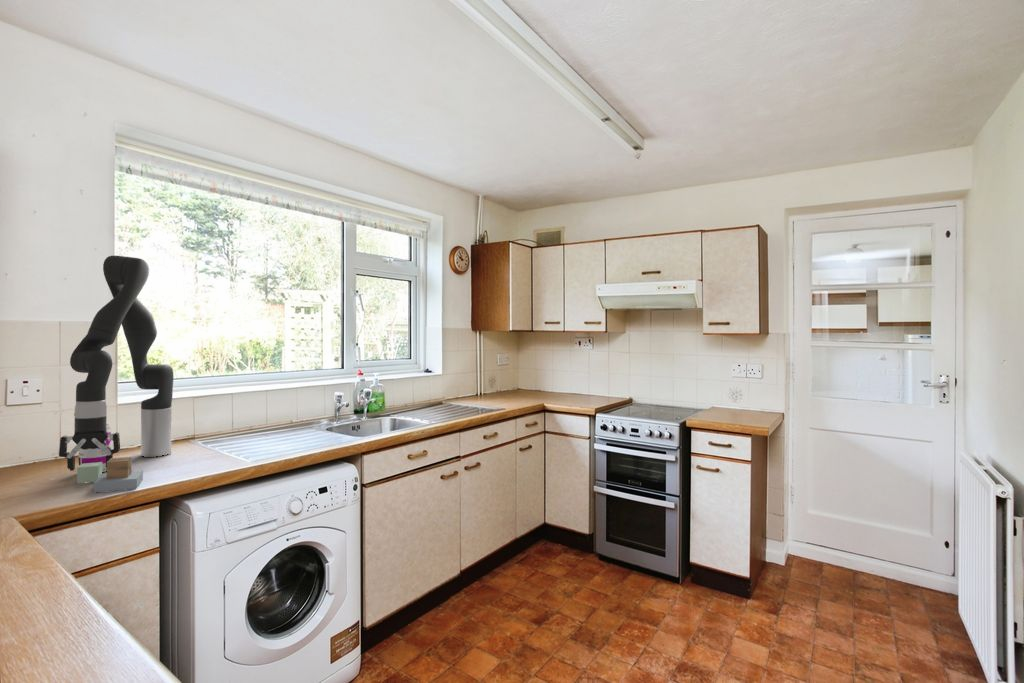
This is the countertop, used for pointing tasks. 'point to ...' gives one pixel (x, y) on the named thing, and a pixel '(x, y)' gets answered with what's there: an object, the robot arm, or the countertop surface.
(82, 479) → the sage cube
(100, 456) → the supplement can
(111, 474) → the walnut cube
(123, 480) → the slate base
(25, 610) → the countertop surface
